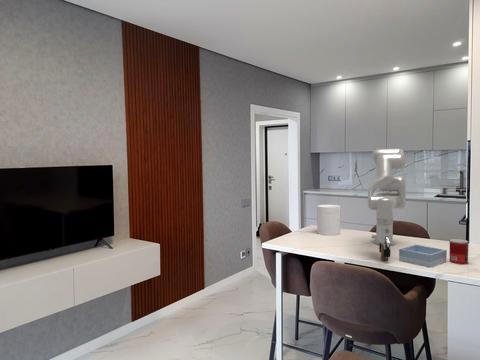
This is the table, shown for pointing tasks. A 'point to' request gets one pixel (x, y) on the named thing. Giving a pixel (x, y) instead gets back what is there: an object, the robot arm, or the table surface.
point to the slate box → (422, 255)
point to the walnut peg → (382, 253)
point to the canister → (328, 220)
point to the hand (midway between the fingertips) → (384, 254)
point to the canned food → (458, 251)
